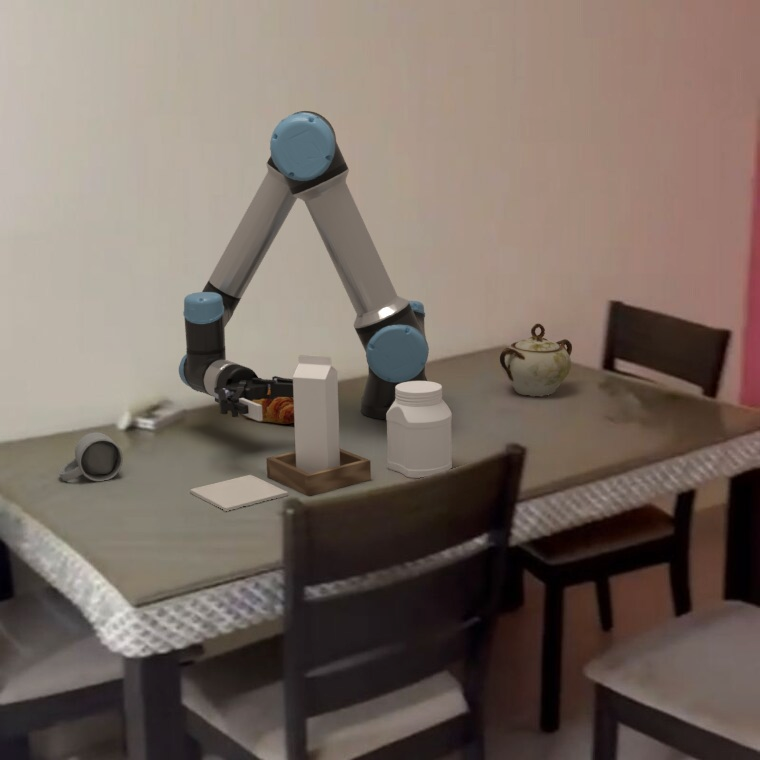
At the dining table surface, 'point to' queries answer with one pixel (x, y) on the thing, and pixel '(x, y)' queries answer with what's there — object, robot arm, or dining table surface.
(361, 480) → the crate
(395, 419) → the jar
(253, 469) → the dining table surface
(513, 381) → the sugar bowl
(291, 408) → the croissant
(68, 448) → the dining table surface
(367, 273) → the robot arm
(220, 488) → the tile
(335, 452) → the milk
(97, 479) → the ceramic mug
